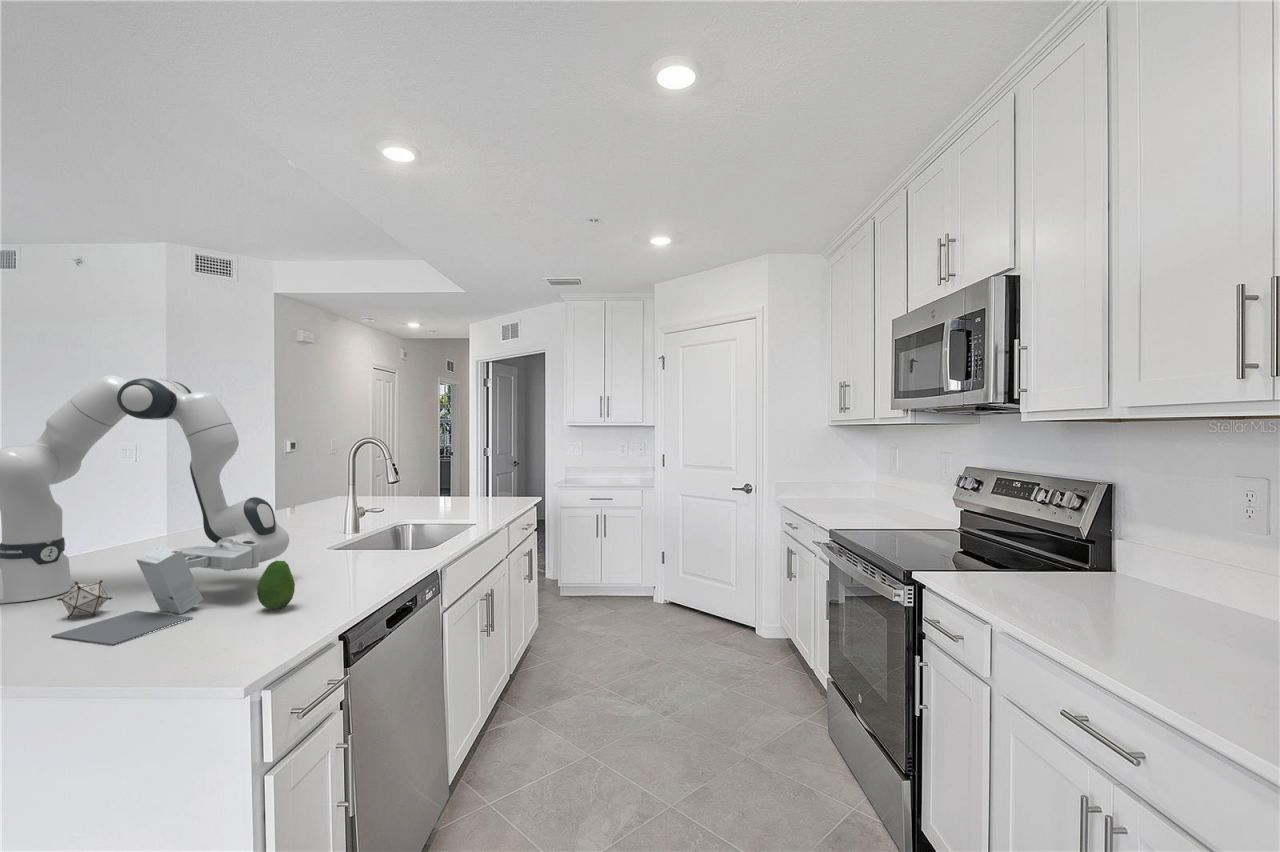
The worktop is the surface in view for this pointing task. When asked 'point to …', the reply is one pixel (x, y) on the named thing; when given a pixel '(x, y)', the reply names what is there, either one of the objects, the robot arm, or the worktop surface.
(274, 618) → the worktop surface
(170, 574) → the skincare box
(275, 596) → the fruit
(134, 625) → the mat
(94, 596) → the game die
